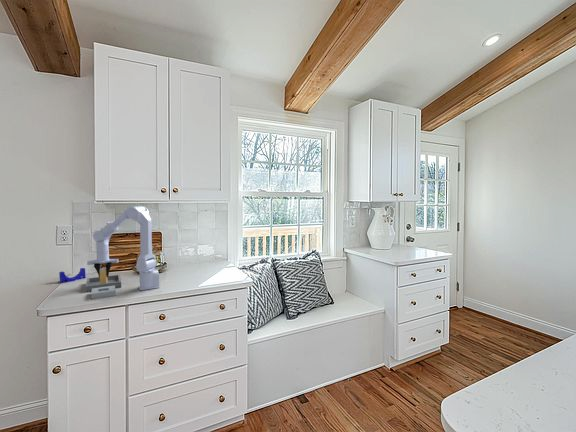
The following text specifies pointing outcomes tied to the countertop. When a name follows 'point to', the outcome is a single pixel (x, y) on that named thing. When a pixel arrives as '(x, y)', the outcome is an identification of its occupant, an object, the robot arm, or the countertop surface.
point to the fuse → (103, 276)
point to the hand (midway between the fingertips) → (103, 276)
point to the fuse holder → (103, 292)
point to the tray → (95, 283)
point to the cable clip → (66, 279)
